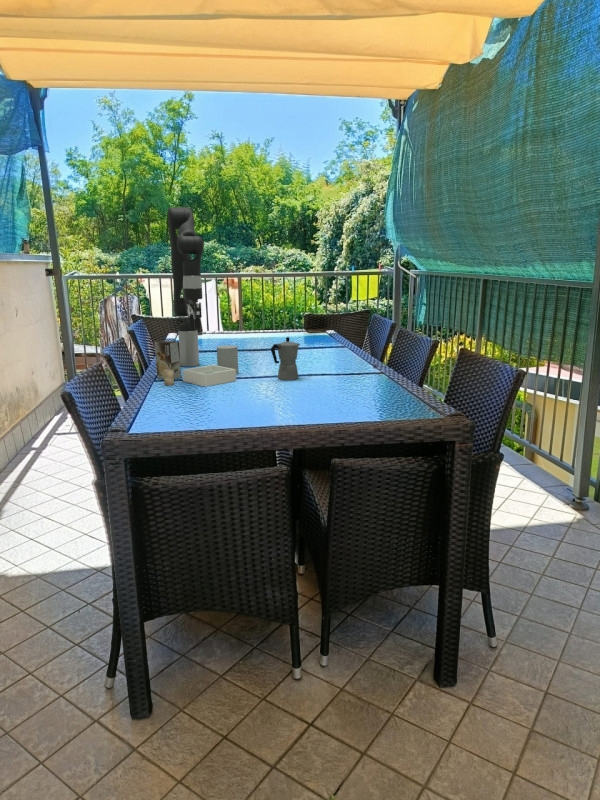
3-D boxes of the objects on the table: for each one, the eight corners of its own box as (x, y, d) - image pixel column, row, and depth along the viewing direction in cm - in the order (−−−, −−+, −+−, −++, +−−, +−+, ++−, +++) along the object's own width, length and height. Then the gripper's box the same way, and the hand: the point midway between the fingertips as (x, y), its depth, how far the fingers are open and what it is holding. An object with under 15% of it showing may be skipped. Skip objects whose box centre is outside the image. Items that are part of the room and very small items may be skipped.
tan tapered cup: (162, 384, 228) (161, 370, 227) (170, 383, 231) (170, 369, 229) (167, 386, 225) (166, 371, 224) (176, 384, 228) (175, 370, 226)
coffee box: (182, 377, 243) (180, 341, 239) (172, 379, 238) (170, 342, 234) (166, 375, 247) (163, 339, 243) (156, 378, 242) (153, 341, 238)
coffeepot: (293, 375, 247) (292, 335, 243) (306, 378, 240) (306, 337, 236) (265, 379, 237) (264, 337, 233) (278, 382, 230) (277, 340, 226)
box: (183, 381, 235) (182, 369, 234) (213, 375, 246) (213, 364, 245) (205, 386, 224) (204, 374, 223) (236, 380, 235) (235, 369, 233)
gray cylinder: (231, 376, 245) (230, 348, 242) (213, 374, 249) (212, 347, 246) (242, 372, 253) (241, 346, 250) (225, 371, 257) (224, 344, 254)
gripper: (179, 287, 228) (181, 326, 231) (187, 287, 215) (190, 329, 219) (197, 286, 231) (198, 325, 235) (206, 287, 218) (208, 328, 222)
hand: (194, 327), depth 227 cm, fingers open, 8 cm apart
